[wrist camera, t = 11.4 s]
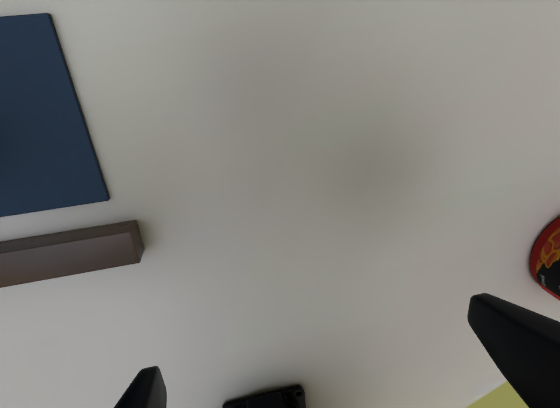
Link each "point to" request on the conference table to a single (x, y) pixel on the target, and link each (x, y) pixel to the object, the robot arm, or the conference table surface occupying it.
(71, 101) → the mat
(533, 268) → the canned food
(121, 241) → the bar
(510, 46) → the conference table surface
